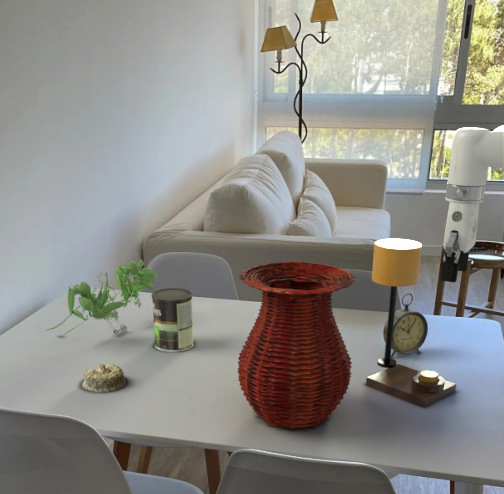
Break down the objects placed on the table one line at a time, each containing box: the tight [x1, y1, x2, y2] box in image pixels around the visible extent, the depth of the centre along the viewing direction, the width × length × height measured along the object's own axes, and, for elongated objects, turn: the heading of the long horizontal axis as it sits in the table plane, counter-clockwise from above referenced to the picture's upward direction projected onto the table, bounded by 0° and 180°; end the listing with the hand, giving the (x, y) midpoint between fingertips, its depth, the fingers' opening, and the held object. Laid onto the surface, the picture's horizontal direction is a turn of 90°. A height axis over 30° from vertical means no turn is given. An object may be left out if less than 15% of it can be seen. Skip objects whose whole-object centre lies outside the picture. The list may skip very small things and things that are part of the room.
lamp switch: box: [419, 370, 440, 384], centre depth 156 cm, size 4×4×2 cm
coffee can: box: [151, 287, 194, 353], centre depth 182 cm, size 10×10×14 cm
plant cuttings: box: [45, 259, 158, 337], centre depth 191 cm, size 35×17×22 cm
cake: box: [81, 363, 127, 393], centre depth 161 cm, size 10×10×5 cm
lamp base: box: [365, 363, 457, 409], centre depth 160 cm, size 16×12×4 cm
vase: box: [237, 261, 356, 430], centre depth 142 cm, size 23×24×30 cm
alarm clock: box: [382, 292, 429, 359], centre depth 176 cm, size 11×5×16 cm, turn 114°
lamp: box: [371, 238, 423, 369], centre depth 157 cm, size 10×10×28 cm
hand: (453, 275), depth 151 cm, fingers open, 9 cm apart
